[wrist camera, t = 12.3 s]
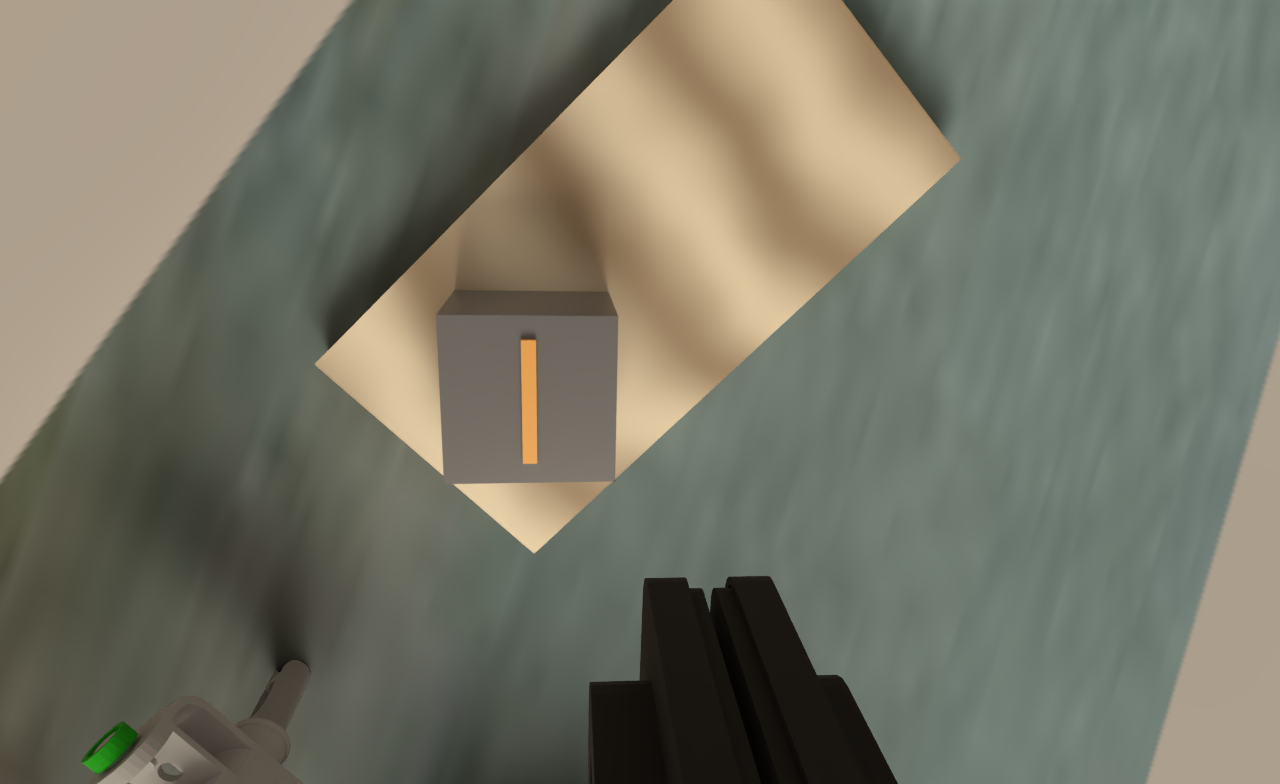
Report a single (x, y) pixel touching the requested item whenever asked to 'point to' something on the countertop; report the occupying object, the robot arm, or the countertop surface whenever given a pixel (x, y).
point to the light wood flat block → (667, 220)
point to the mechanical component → (205, 741)
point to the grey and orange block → (528, 386)
